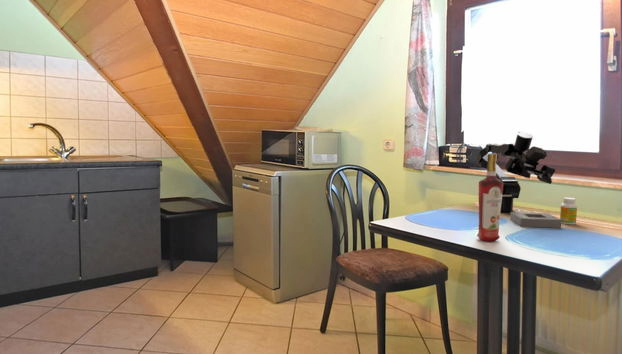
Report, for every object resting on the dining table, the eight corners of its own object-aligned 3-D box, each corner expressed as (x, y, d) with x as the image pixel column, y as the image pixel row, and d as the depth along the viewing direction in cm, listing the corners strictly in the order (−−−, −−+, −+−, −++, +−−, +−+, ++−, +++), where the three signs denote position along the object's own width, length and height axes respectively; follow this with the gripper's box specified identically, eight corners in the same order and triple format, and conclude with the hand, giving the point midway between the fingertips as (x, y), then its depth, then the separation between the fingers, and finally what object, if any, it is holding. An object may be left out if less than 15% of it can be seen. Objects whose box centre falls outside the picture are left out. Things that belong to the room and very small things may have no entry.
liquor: (494, 237, 143) (498, 153, 140) (504, 243, 136) (509, 154, 133) (472, 237, 143) (476, 153, 140) (481, 243, 136) (485, 154, 133)
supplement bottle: (569, 225, 163) (571, 199, 161) (556, 222, 168) (558, 197, 166) (579, 224, 165) (581, 198, 163) (566, 221, 170) (567, 196, 168)
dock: (510, 219, 173) (510, 211, 172) (547, 220, 170) (548, 212, 170) (520, 226, 160) (521, 217, 159) (561, 227, 158) (561, 219, 157)
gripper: (511, 137, 170) (529, 155, 157) (552, 149, 173) (573, 167, 160) (497, 161, 175) (514, 181, 162) (537, 172, 178) (557, 192, 165)
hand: (540, 180), depth 162 cm, fingers open, 9 cm apart
